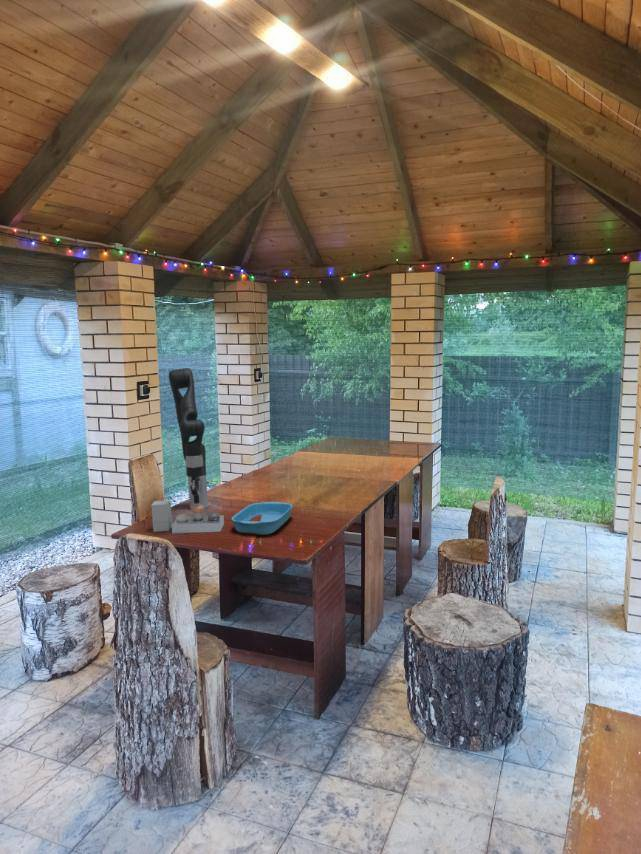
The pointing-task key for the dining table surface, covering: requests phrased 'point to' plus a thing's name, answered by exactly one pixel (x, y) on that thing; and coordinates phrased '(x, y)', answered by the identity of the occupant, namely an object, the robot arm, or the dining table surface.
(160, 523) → the supplement box
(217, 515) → the knob
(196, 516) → the tan egg
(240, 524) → the casserole dish
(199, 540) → the dining table surface
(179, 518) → the grey oval piece
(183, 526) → the mount
